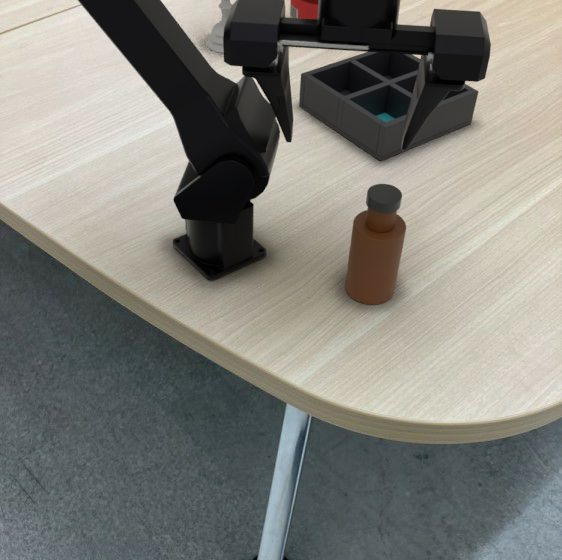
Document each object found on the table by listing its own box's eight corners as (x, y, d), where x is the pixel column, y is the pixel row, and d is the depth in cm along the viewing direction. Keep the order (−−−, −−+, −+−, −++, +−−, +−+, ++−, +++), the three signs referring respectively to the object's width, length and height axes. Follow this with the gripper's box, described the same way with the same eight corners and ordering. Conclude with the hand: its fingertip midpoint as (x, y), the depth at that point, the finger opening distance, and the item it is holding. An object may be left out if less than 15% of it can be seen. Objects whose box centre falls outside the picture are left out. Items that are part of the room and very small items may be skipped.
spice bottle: (404, 292, 70) (423, 197, 63) (367, 311, 68) (383, 216, 61) (371, 266, 72) (386, 172, 65) (335, 284, 70) (346, 189, 63)
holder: (471, 123, 91) (478, 91, 88) (380, 161, 85) (385, 127, 82) (387, 75, 98) (392, 43, 95) (298, 106, 92) (300, 73, 89)
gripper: (497, -100, 57) (457, 102, 68) (241, -114, 58) (244, 88, 69) (513, -44, 49) (465, 173, 61) (218, -61, 50) (225, 156, 62)
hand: (346, 143), depth 63 cm, fingers open, 9 cm apart
